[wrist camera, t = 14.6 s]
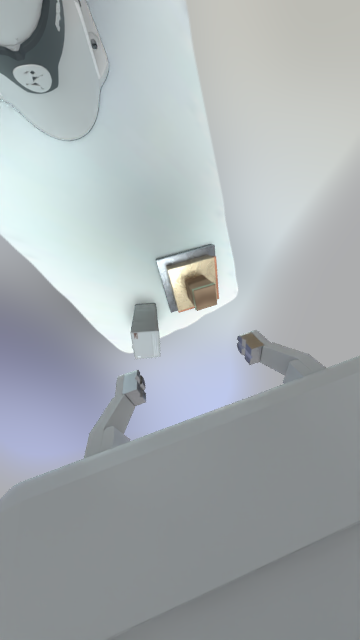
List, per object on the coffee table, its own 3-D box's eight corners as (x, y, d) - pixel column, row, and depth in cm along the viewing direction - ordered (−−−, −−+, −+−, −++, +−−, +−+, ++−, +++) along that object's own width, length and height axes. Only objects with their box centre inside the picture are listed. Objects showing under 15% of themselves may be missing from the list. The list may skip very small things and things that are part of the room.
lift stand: (155, 259, 40) (158, 264, 35) (211, 244, 42) (221, 246, 37) (170, 309, 49) (173, 318, 44) (215, 295, 51) (223, 303, 46)
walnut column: (184, 279, 39) (193, 291, 32) (202, 274, 39) (215, 284, 33) (187, 297, 42) (196, 311, 35) (205, 292, 42) (217, 304, 36)
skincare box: (157, 324, 51) (163, 357, 38) (135, 326, 50) (134, 362, 37) (155, 301, 47) (162, 330, 34) (132, 303, 45) (129, 334, 32)
